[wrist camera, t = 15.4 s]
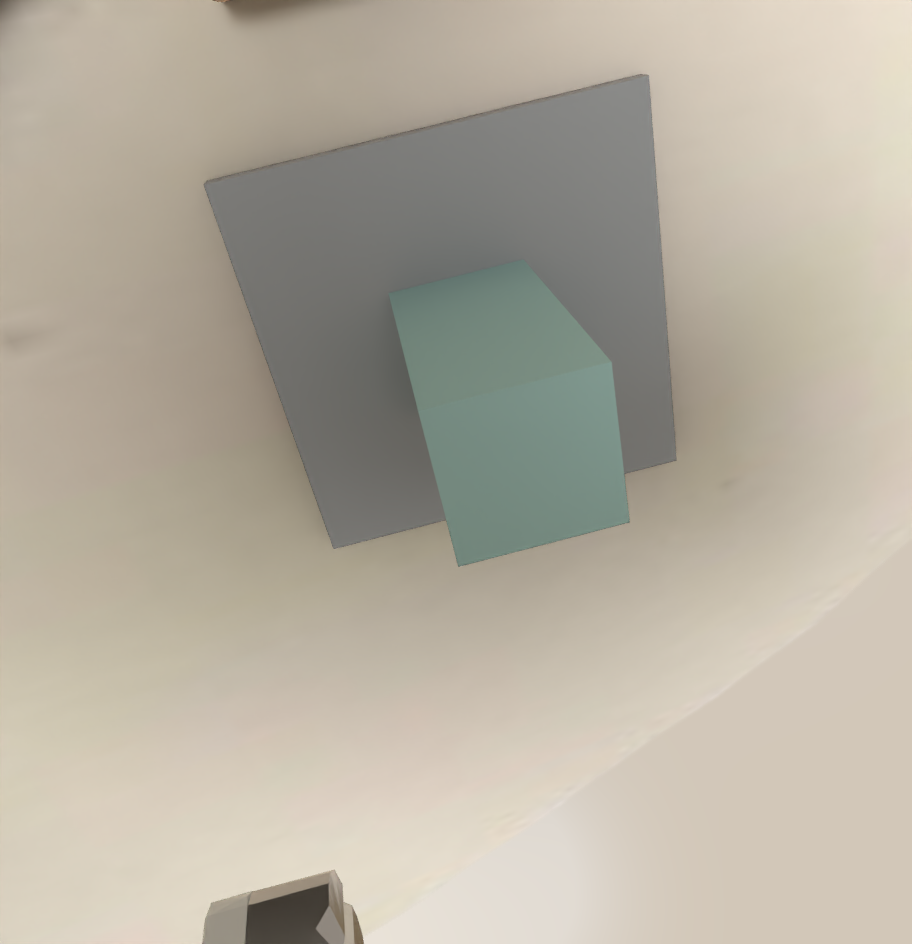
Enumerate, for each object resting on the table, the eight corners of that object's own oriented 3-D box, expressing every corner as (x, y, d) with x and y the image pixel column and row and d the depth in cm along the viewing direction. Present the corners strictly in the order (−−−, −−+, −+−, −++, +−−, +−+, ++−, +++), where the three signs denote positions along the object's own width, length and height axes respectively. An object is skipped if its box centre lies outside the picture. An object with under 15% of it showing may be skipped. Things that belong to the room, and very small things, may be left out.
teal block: (420, 415, 25) (458, 566, 18) (388, 293, 23) (418, 411, 16) (543, 383, 25) (629, 521, 18) (523, 259, 23) (611, 361, 16)
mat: (333, 539, 27) (333, 549, 27) (206, 181, 21) (203, 184, 21) (669, 452, 27) (676, 460, 27) (640, 74, 21) (648, 75, 21)
